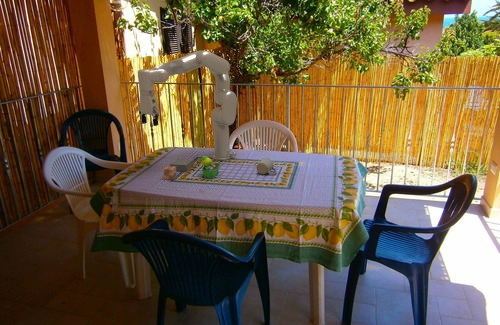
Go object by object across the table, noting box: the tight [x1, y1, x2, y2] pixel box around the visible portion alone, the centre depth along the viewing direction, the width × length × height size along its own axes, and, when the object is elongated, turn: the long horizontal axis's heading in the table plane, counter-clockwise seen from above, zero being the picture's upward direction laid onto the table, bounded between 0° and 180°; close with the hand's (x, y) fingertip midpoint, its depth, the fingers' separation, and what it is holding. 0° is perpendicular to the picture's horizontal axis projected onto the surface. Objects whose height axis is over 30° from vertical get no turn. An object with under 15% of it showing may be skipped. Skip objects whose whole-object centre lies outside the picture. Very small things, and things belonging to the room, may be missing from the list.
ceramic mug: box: [255, 157, 277, 176], centre depth 207 cm, size 11×8×8 cm
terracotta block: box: [162, 165, 178, 181], centre depth 204 cm, size 5×5×6 cm
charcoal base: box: [169, 158, 194, 173], centre depth 219 cm, size 10×10×4 cm
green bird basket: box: [200, 155, 221, 179], centre depth 206 cm, size 11×9×11 cm
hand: (150, 124), depth 206 cm, fingers open, 9 cm apart
